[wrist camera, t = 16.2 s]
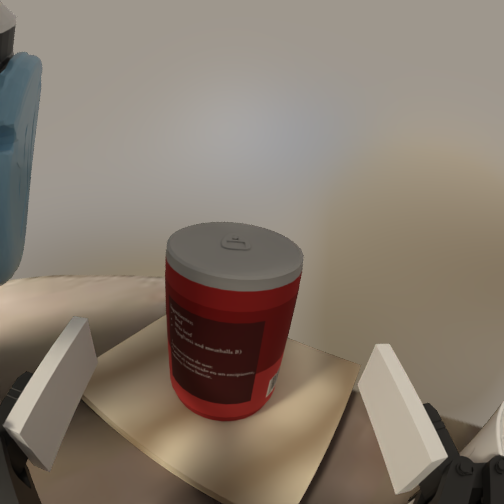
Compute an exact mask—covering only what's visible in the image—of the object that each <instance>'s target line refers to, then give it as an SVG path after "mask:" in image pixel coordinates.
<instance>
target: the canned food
mask: <svg viewBox="0 0 504 504" xmlns="http://www.w3.org/2000/svg"><path fill="white" fill-rule="evenodd" d="M302 266H303V253H302V251H301V249H300V248H299V247H298V246H297V245H296V244H295V243H294V242H293V241H291V240H290V239H288V238H286V237H285V236H283V235H281V234H279V233H276V232H274V231H271V230H268V229H265V228H262V227H258V226H254V225H248V224H242V223H233V222H210V223H201V224H196V225H192V226H189V227H185V228H183V229H181V230H178V231H176V232H175V233H174V234H172V235H171V236H170V238H169V239H168V242H167V250H166V270H165V289H166V319H167V339H168V354H169V368H170V379H171V383H172V387H173V389H174V390H175V392H176V394H177V396H178V398H179V399H180V401H181V402H182V403H183V404H184V405H185V406H186V407H187V408H188V409H189V410H191V411H192V412H193V413H195V414H197V415H199V416H201V417H204V418H207V419H211V420H215V421H236V420H240V419H244V418H247V417H249V416H251V415H253V414H255V413H256V412H257V411H259V410H260V409H261V408H262V407H263V406H264V405H265V403H266V402H267V401H268V400H269V399H270V398H271V395H272V393H273V391H274V389H275V385H276V381H277V377H278V373H279V370H280V366H281V362H282V358H283V354H284V350H285V346H286V342H287V338H288V334H289V329H290V325H291V321H292V316H293V312H294V308H295V304H296V299H297V295H298V290H299V284H300V279H301V274H302Z"/></svg>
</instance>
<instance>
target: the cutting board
mask: <svg viewBox="0 0 504 504" xmlns="http://www.w3.org/2000/svg"><path fill="white" fill-rule="evenodd" d="M97 361H98V364H97V366H96V368H95V370H94V372H93V374H92V376H91V378H90V380H89V382H88V385H87V387H86V389H85V391H84V393H83V395H82V397H81V399H82V400H83V401H84V402H85V403H86V404H87V405H88V406H89V407H90V408H91V409H92V410H93V411H95V412H96V413H97V414H98V415H99V416H100V417H101V418H102V419H103V420H104V421H106V422H107V423H108V424H109V425H110V426H111V427H112V428H114V429H115V430H116V431H117V432H118V433H119V434H121V435H122V436H123V437H124V438H126V439H127V440H128V441H129V442H130V443H132V444H133V445H134V446H136V447H137V448H138V449H139V450H141V451H142V452H143V453H145V454H146V455H147V456H149V457H150V458H151V459H153V460H154V461H156V462H157V463H158V464H160V465H161V466H163V467H164V468H165V469H167V470H168V471H170V472H171V473H173V474H174V475H176V476H177V477H179V478H180V479H182V480H184V481H185V482H187V483H188V484H190V485H192V486H193V487H195V488H196V489H198V490H200V491H202V492H203V493H205V494H207V495H208V496H210V497H212V498H214V499H215V500H217V501H219V502H221V503H223V504H299V502H300V500H301V499H302V497H303V495H304V493H305V491H306V490H307V488H308V486H309V484H310V482H311V480H312V478H313V476H314V474H315V472H316V470H317V468H318V466H319V464H320V462H321V460H322V458H323V456H324V454H325V452H326V450H327V448H328V446H329V444H330V441H331V439H332V437H333V435H334V432H335V430H336V428H337V426H338V423H339V421H340V419H341V416H342V414H343V411H344V409H345V407H346V404H347V402H348V399H349V397H350V394H351V391H352V389H353V386H354V383H355V381H356V378H357V375H358V373H359V370H360V367H361V365H359V364H356V363H353V362H351V361H348V360H345V359H342V358H340V357H337V356H334V355H331V354H329V353H326V352H323V351H320V350H318V349H315V348H313V347H310V346H307V345H305V344H302V343H300V342H297V341H294V340H292V339H289V338H287V342H286V346H285V350H284V354H283V358H282V362H281V366H280V370H279V373H278V377H277V381H276V385H275V389H274V391H273V393H272V395H271V398H270V399H269V400H268V401H267V402H266V403H265V405H264V406H263V407H262V408H261V409H260V410H259V411H257V412H256V413H255V414H253V415H251V416H249V417H247V418H244V419H240V420H236V421H215V420H211V419H207V418H204V417H201V416H199V415H197V414H195V413H193V412H192V411H191V410H189V409H188V408H187V407H186V406H185V405H184V404H183V403H182V402H181V401H180V399H179V398H178V396H177V394H176V392H175V390H174V389H173V387H172V383H171V379H170V368H169V354H168V339H167V319H166V315H164V316H163V317H161V318H159V319H158V320H156V321H155V322H153V323H151V324H150V325H148V326H147V327H145V328H144V329H142V330H140V331H139V332H137V333H136V334H134V335H132V336H131V337H129V338H128V339H126V340H124V341H123V342H121V343H120V344H118V345H116V346H115V347H113V348H112V349H110V350H109V351H107V352H105V353H104V354H102V355H101V356H99V357H97Z"/></svg>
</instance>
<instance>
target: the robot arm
mask: <svg viewBox="0 0 504 504" xmlns="http://www.w3.org/2000/svg"><path fill="white" fill-rule="evenodd" d="M15 25H16V16H15V15H14V14H13V13H12V12H11V11H10V10H9V9H8V8H7V7H6V6H5V5H4V4H3V3H2V2H1V1H0V286H1V285H3V284H5V283H6V282H7V281H8V280H9V279H10V278H11V277H12V276H13V275H14V273H15V271H16V270H17V269H18V267H19V264H20V262H21V259H22V255H23V250H24V243H25V235H26V225H27V214H28V200H29V190H30V180H31V170H32V160H33V151H34V142H35V134H36V126H37V117H38V110H39V101H40V92H41V73H42V63H41V60H40V59H39V58H38V57H37V56H34V55H29V54H28V53H27V52H19V53H17V54H15V55H14V53H13V43H14V32H15ZM97 364H98V361H97V357H96V353H95V349H94V345H93V340H92V336H91V331H90V327H89V322H88V319H87V318H82V317H77V316H73V318H72V319H71V320H70V322H69V323H68V325H67V326H66V327H65V329H64V330H63V331H62V333H61V334H60V336H59V337H58V339H57V340H56V341H55V343H54V344H53V346H52V347H51V349H50V350H49V352H48V353H47V355H46V356H45V358H44V359H43V361H42V362H41V364H40V365H39V367H38V368H37V370H36V371H35V373H34V374H32V373H29V372H27V371H26V372H25V373H24V374H22V375H21V376H20V377H18V378H17V380H16V381H15V383H14V384H13V386H12V389H10V391H9V392H8V394H7V396H6V397H5V398H4V400H3V402H2V403H1V405H0V504H41V501H40V499H39V496H38V494H37V491H36V489H35V486H34V483H33V481H32V478H31V475H30V472H29V469H28V467H27V465H26V462H27V460H28V459H29V460H30V461H31V462H32V464H33V465H35V466H37V467H39V468H41V469H44V470H46V471H48V472H50V470H51V468H52V465H53V462H54V460H55V457H56V455H57V452H58V450H59V447H60V445H61V443H62V440H63V438H64V435H65V433H66V431H67V428H68V426H69V424H70V422H71V419H72V417H73V415H74V413H75V410H76V408H77V406H78V404H79V402H80V399H81V397H82V395H83V393H84V391H85V389H86V387H87V385H88V382H89V380H90V378H91V376H92V374H93V372H94V370H95V368H96V366H97ZM358 388H359V390H360V393H361V396H362V398H363V401H364V404H365V406H366V409H367V412H368V415H369V417H370V420H371V423H372V426H373V429H374V431H375V434H376V437H377V440H378V443H379V446H380V449H381V452H382V455H383V457H384V460H385V463H386V466H387V469H388V472H389V476H390V479H391V482H392V485H393V488H394V491H395V494H396V495H397V494H401V493H404V492H408V491H411V490H412V489H414V488H415V487H416V486H417V485H418V484H419V486H420V490H419V491H418V492H416V493H415V494H414V495H413V496H412V497H410V499H409V500H408V501H409V502H410V501H412V500H413V499H414V498H415V500H414V502H413V504H504V456H501V455H496V456H494V457H493V458H492V459H490V460H489V461H488V462H485V463H473V461H472V460H471V459H469V458H468V457H465V456H460V455H459V453H458V451H457V449H456V447H455V445H454V443H453V441H452V439H451V437H450V435H449V433H448V431H447V429H445V425H444V423H443V421H441V420H442V419H441V417H440V416H439V414H438V412H437V410H436V409H435V408H433V406H431V405H430V404H429V403H426V404H422V402H421V400H420V399H419V397H418V395H417V393H416V391H415V389H414V387H413V386H412V384H411V382H410V380H409V378H408V376H407V374H406V373H405V371H404V369H403V367H402V365H401V363H400V362H399V360H398V358H397V356H396V355H395V353H394V351H393V349H392V348H391V346H390V344H375V347H374V349H373V352H372V354H371V356H370V358H369V361H368V363H367V365H366V367H365V370H364V372H363V374H362V376H361V378H360V380H359V382H358ZM482 497H483V503H482V502H481V498H482Z"/></svg>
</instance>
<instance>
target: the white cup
mask: <svg viewBox="0 0 504 504" xmlns="http://www.w3.org/2000/svg"><path fill="white" fill-rule="evenodd" d="M459 455H460V456H465V457H468V458H469V459H471V460H472V461H473V463H485V462H488V461H489V460H490V459H492V458H493V457H494V456H496V455H501V456H504V401H503V402H502V404H501V405H500V406H499V407H498V409H497V410H496V412H495V413H494V414H493V415H492V417H491V418H490V419H489V420H488V422H487V423H486V424H485V425H484V426H483V428H482V429H481V430H480V431H479V432H478V433H477V435H476V436H475V437H474V438H473V439H472V440H471V441H470V442H469V444H468V445H467V446H466V447H465V448H464V449H463V450H462V451H461V452H460V453H459ZM414 500H415V498H414V499H413V500H412V501H410V502H409V503H408V504H413V502H414ZM481 502H482V503H483V497H482V498H481Z"/></svg>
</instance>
